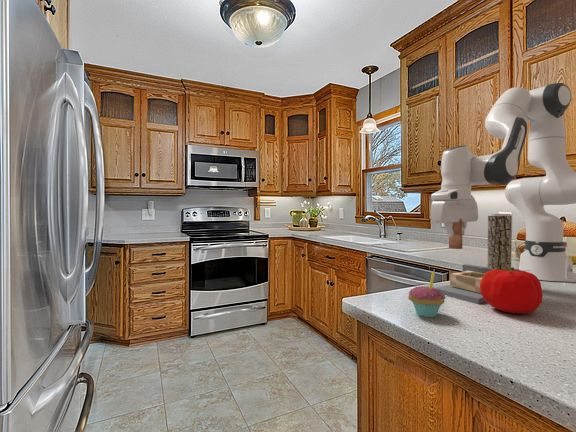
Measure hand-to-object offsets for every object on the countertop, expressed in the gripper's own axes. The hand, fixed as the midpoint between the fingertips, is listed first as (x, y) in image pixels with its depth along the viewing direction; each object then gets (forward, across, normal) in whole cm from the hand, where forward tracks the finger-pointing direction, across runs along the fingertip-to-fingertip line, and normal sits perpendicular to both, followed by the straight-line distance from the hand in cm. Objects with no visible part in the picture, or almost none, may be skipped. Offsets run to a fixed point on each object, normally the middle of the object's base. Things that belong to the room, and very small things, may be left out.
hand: (455, 235), depth 103 cm
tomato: (+18, +9, +21) cm, 29 cm away
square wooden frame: (+16, 0, +6) cm, 17 cm away
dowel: (+4, 0, 0) cm, 4 cm away
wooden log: (+18, -16, +5) cm, 25 cm away
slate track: (+18, +2, +6) cm, 19 cm away
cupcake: (+18, +30, +12) cm, 37 cm away
